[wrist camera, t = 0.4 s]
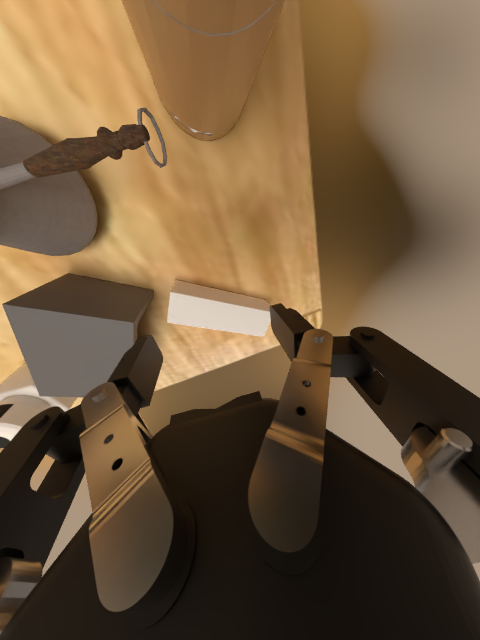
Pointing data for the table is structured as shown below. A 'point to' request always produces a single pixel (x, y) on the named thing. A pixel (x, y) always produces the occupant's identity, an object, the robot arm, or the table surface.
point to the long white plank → (217, 309)
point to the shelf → (76, 331)
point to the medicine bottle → (23, 403)
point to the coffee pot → (56, 184)
